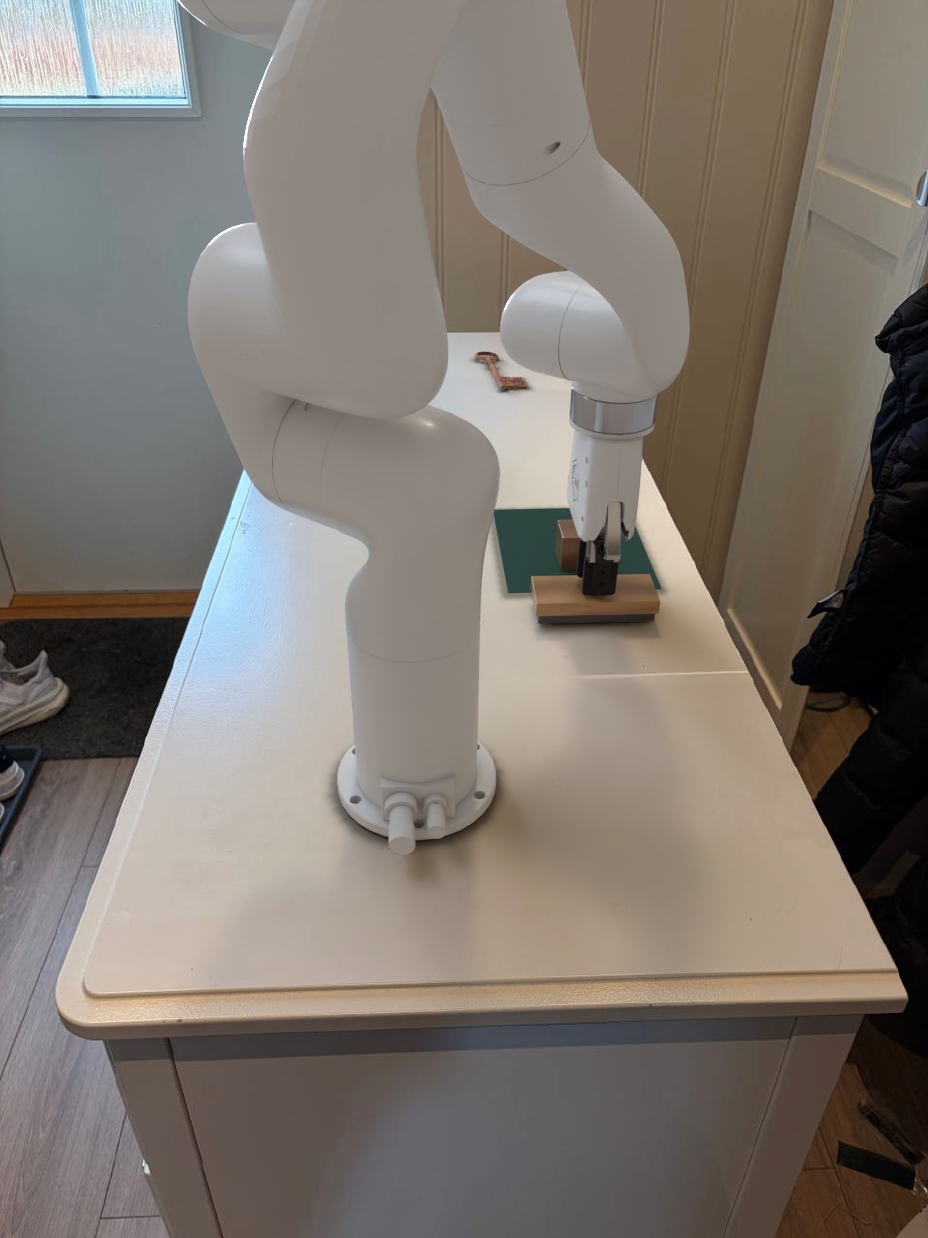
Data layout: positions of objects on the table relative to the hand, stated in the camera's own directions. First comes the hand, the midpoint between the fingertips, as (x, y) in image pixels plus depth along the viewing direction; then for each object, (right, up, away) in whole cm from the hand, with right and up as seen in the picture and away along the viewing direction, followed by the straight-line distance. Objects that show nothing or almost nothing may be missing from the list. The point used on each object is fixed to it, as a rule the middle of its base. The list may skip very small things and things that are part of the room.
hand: (595, 583), depth 96 cm
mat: (-1, +4, +13) cm, 14 cm away
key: (-7, +35, +57) cm, 67 cm away
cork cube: (-1, +3, +10) cm, 11 cm away
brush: (0, -2, +2) cm, 3 cm away
